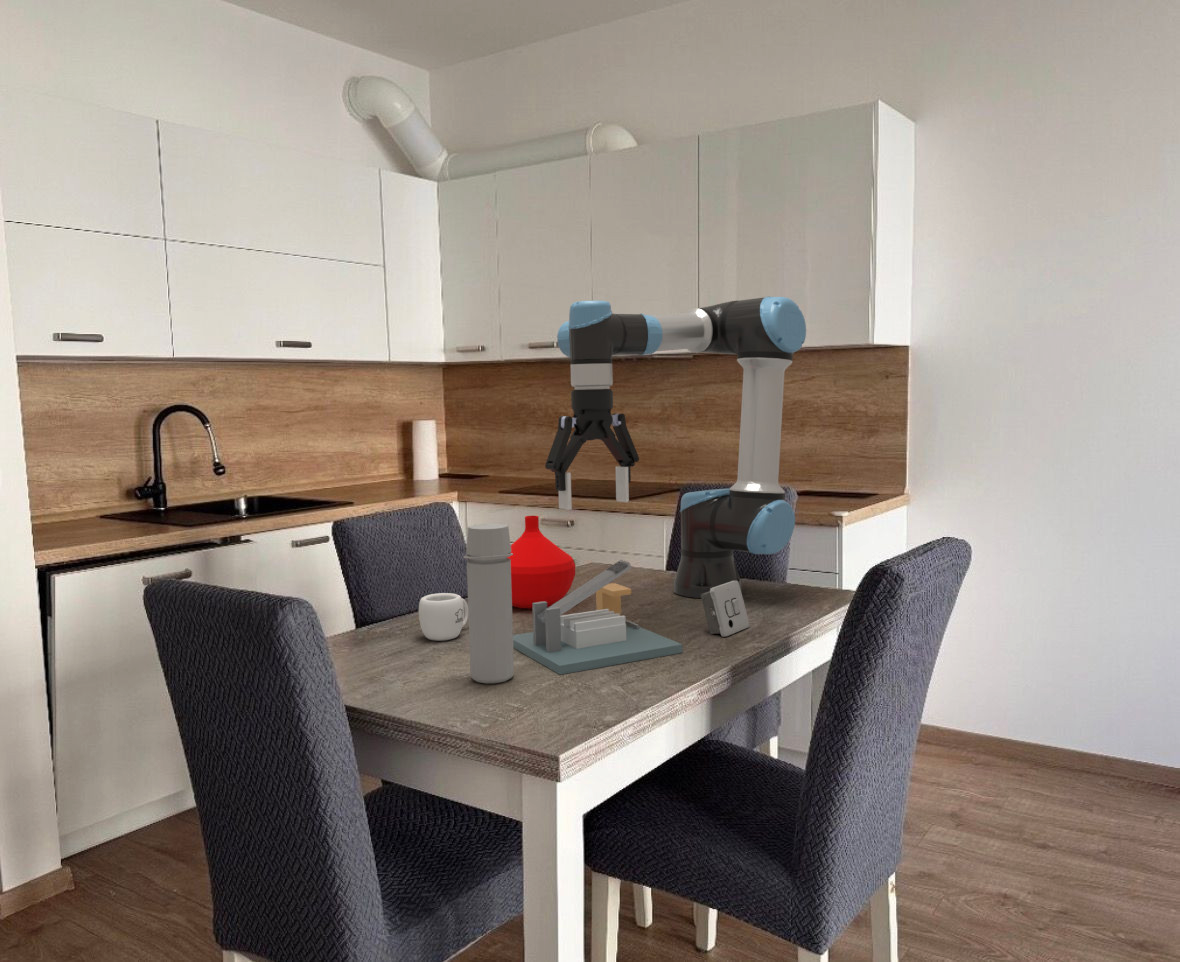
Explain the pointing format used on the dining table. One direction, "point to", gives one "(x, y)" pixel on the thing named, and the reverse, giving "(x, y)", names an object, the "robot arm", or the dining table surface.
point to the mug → (442, 615)
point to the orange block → (611, 597)
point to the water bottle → (490, 603)
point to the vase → (538, 568)
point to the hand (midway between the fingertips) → (594, 505)
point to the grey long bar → (589, 588)
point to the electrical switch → (725, 609)
